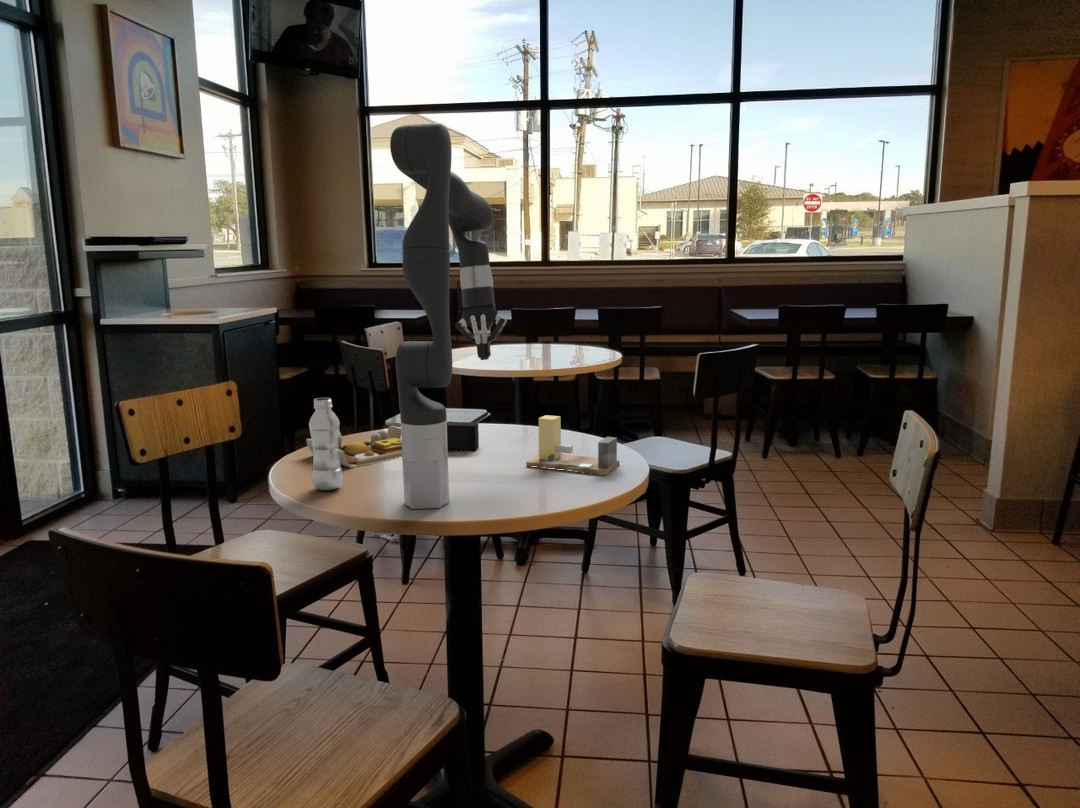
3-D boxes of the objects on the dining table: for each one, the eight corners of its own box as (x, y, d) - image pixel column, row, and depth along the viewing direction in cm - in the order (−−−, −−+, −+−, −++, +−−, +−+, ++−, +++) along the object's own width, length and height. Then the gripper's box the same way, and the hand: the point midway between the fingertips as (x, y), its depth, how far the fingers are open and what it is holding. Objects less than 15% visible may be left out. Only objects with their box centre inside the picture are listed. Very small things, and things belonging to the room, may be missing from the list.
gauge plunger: (535, 461, 188) (534, 420, 186) (545, 455, 194) (545, 415, 192) (564, 464, 185) (564, 422, 183) (574, 458, 191) (574, 417, 189)
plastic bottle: (331, 483, 177) (325, 395, 173) (349, 488, 173) (344, 398, 169) (306, 489, 172) (300, 399, 168) (325, 495, 168) (319, 403, 164)
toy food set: (341, 472, 187) (340, 441, 186) (306, 458, 200) (303, 429, 199) (429, 453, 204) (428, 424, 203) (391, 441, 217) (390, 414, 216)
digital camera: (480, 446, 209) (479, 421, 208) (476, 451, 204) (475, 425, 202) (442, 446, 210) (441, 420, 209) (436, 451, 205) (435, 424, 204)
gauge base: (526, 466, 189) (525, 437, 187) (543, 456, 198) (543, 428, 196) (604, 475, 180) (605, 445, 179) (619, 465, 189) (619, 435, 188)
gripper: (445, 289, 184) (453, 363, 186) (499, 283, 181) (507, 358, 183) (455, 289, 191) (463, 360, 193) (508, 283, 188) (515, 356, 190)
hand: (484, 359), depth 188 cm, fingers closed
